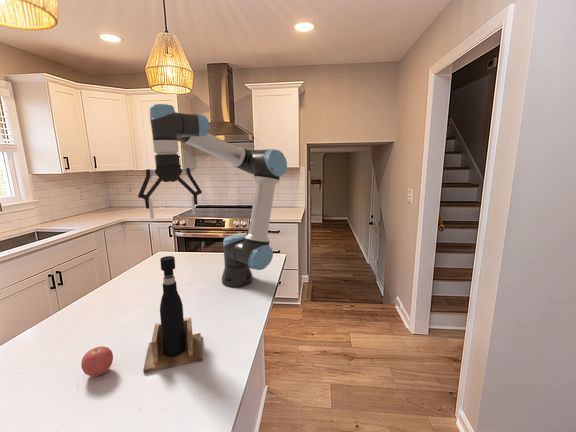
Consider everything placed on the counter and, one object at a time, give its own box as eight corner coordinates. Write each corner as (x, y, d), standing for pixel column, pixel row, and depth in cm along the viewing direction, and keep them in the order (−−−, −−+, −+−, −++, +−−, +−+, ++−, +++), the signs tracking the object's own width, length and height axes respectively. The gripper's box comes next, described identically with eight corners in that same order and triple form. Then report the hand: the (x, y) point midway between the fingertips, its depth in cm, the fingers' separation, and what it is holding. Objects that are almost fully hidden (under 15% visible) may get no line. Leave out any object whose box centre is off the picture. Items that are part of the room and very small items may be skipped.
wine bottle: (178, 358, 86) (171, 262, 81) (159, 355, 87) (150, 260, 82) (189, 345, 92) (183, 255, 87) (171, 342, 93) (164, 254, 88)
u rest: (200, 336, 99) (199, 314, 97) (202, 360, 87) (200, 336, 85) (149, 345, 94) (146, 323, 92) (143, 373, 82) (140, 347, 80)
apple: (110, 379, 80) (106, 353, 78) (79, 385, 78) (74, 359, 76) (117, 361, 87) (114, 337, 85) (89, 366, 85) (85, 342, 83)
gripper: (204, 153, 104) (209, 210, 109) (126, 154, 96) (135, 217, 100) (206, 152, 97) (211, 214, 102) (122, 154, 89) (132, 221, 93)
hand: (173, 216), depth 101 cm, fingers open, 13 cm apart
